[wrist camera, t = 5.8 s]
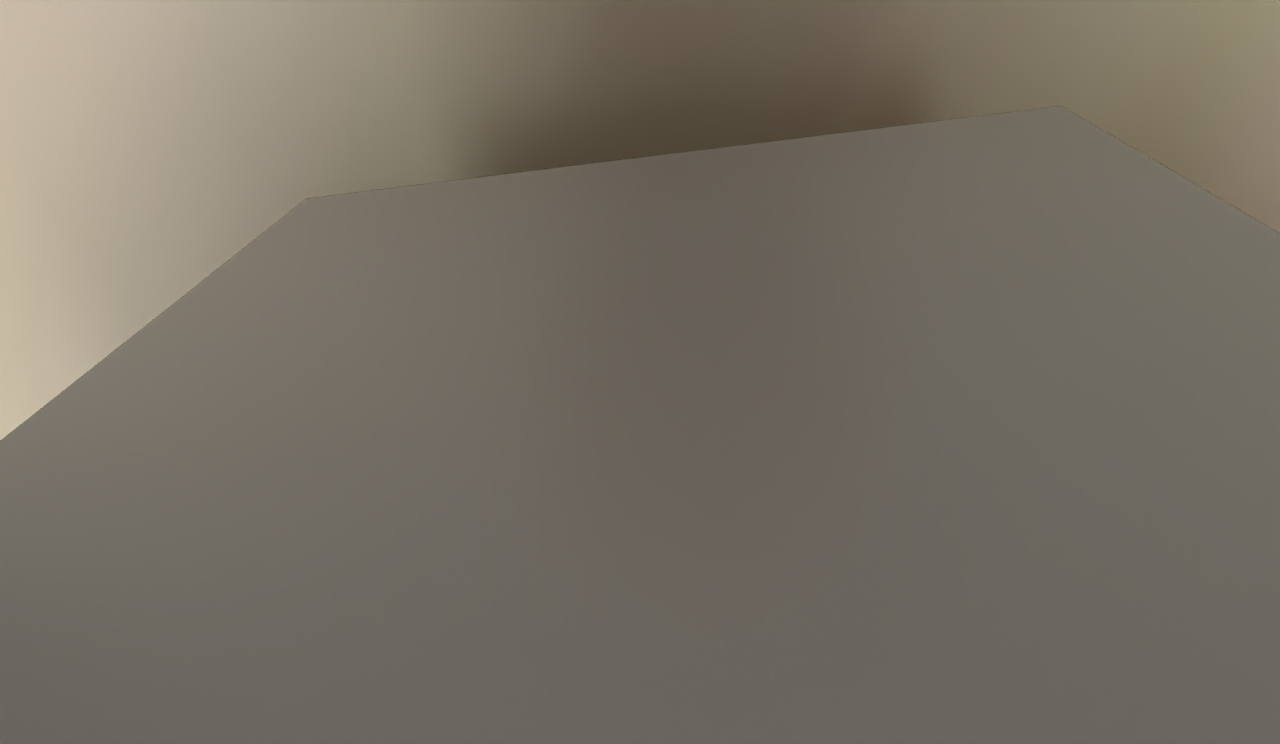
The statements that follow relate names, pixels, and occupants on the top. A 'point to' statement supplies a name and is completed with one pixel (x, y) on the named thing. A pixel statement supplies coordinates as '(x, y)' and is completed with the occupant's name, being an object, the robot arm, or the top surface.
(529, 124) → the top surface
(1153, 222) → the grey block
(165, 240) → the top surface
